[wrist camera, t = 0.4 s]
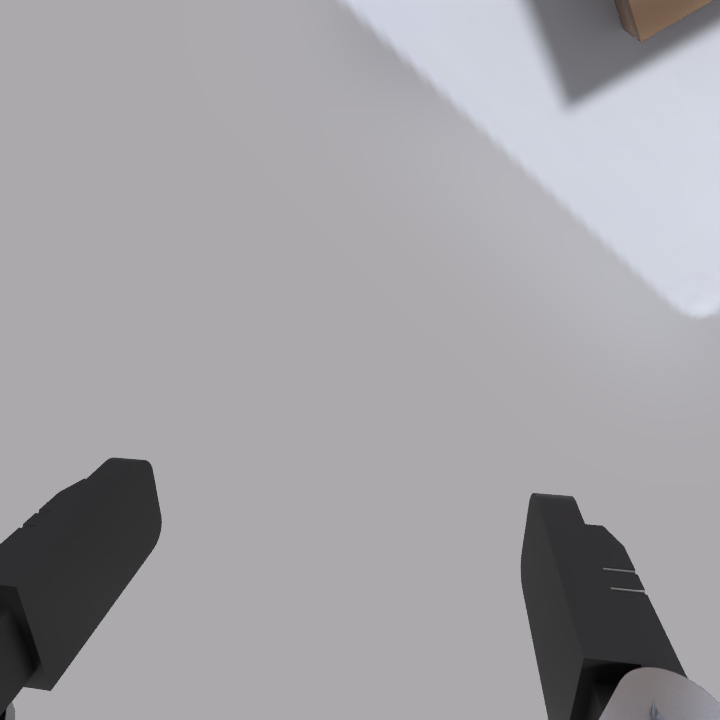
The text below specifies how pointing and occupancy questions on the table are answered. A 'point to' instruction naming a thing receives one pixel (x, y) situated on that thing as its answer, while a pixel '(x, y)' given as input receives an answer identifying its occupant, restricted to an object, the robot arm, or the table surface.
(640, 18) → the walnut plinth
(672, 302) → the table surface
